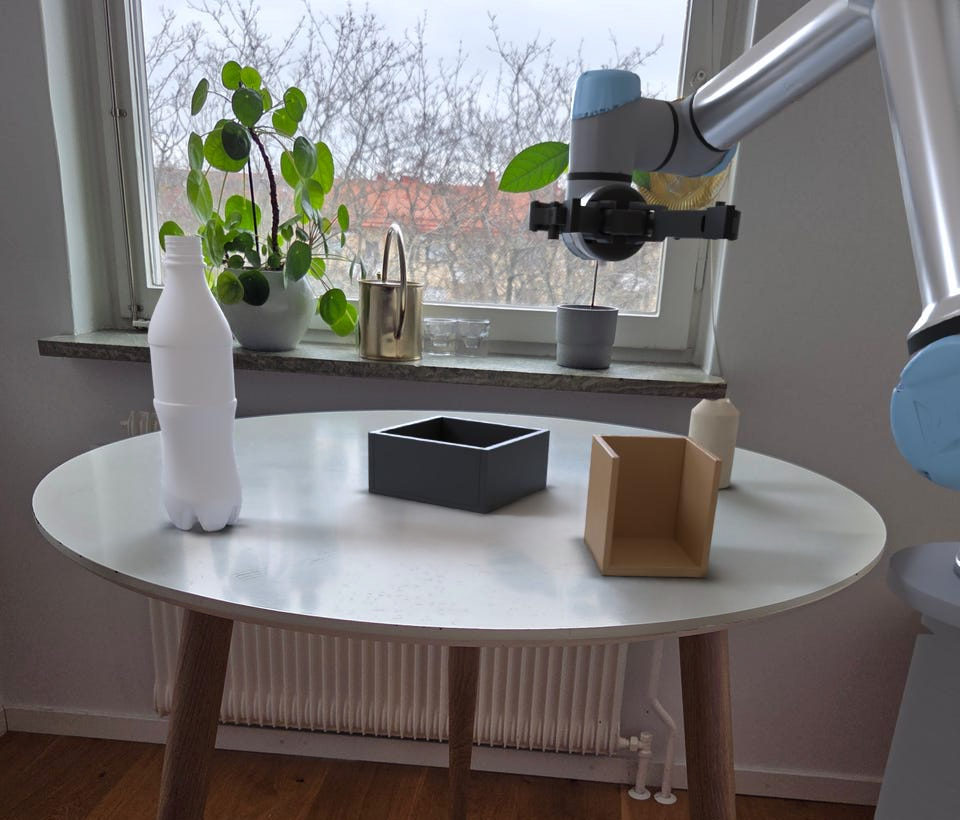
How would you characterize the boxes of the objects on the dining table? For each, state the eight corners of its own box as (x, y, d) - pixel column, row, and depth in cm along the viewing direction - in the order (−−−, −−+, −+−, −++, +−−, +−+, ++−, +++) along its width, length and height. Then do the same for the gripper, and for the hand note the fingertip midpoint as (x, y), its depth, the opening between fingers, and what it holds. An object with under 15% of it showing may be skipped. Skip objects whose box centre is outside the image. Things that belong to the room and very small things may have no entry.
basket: (546, 487, 107) (550, 430, 105) (485, 513, 96) (487, 450, 93) (438, 469, 114) (439, 415, 111) (368, 492, 102) (367, 432, 99)
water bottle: (166, 515, 90) (140, 234, 81) (242, 513, 92) (226, 237, 82) (163, 536, 84) (134, 234, 74) (245, 533, 86) (228, 237, 76)
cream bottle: (712, 477, 115) (723, 394, 112) (738, 487, 111) (751, 401, 107) (673, 479, 114) (684, 395, 110) (699, 490, 109) (711, 402, 105)
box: (583, 541, 88) (592, 434, 84) (677, 543, 88) (691, 437, 85) (601, 575, 79) (612, 457, 75) (706, 577, 79) (722, 460, 75)
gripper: (718, 265, 103) (785, 270, 84) (493, 256, 102) (508, 259, 82) (727, 190, 101) (799, 177, 81) (496, 180, 99) (513, 163, 80)
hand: (652, 218), depth 82 cm, fingers open, 13 cm apart
